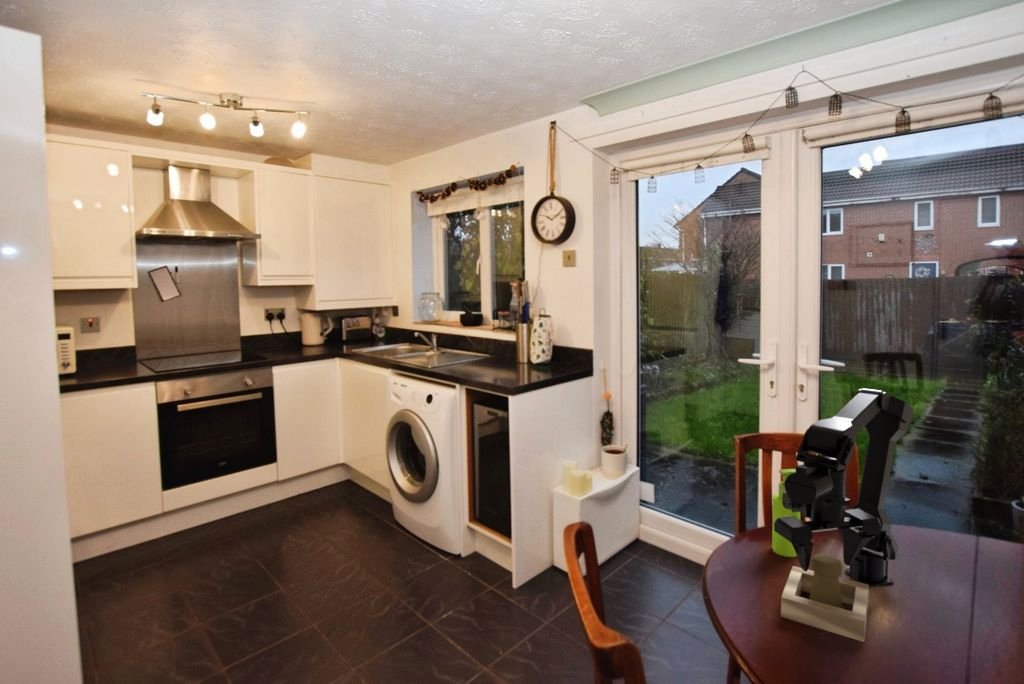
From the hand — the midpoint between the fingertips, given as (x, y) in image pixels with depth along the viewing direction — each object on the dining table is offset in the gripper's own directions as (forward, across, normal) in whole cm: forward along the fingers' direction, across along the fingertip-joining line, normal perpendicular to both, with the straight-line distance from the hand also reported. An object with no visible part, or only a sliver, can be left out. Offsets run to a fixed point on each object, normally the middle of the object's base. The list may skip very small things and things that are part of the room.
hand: (825, 567), depth 103 cm
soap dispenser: (+9, -8, -22) cm, 25 cm away
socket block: (+9, 0, 0) cm, 9 cm away
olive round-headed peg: (+9, 0, 0) cm, 9 cm away
